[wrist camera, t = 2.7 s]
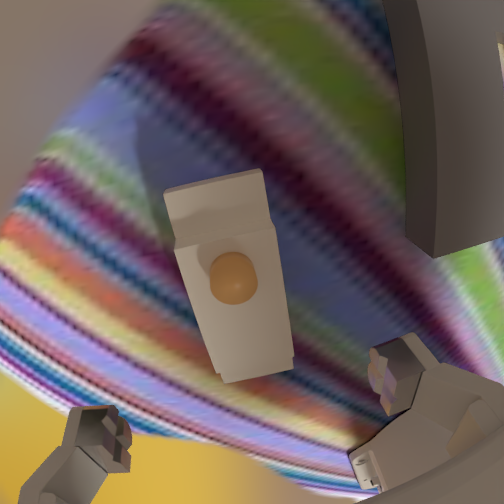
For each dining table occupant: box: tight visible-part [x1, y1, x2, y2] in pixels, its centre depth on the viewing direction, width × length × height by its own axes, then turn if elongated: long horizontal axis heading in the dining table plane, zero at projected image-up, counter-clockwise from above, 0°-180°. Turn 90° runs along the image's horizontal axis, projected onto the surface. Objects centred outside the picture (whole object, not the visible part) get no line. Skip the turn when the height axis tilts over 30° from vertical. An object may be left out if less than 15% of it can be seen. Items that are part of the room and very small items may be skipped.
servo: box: [163, 168, 294, 384], centre depth 16 cm, size 11×4×6 cm, turn 10°
